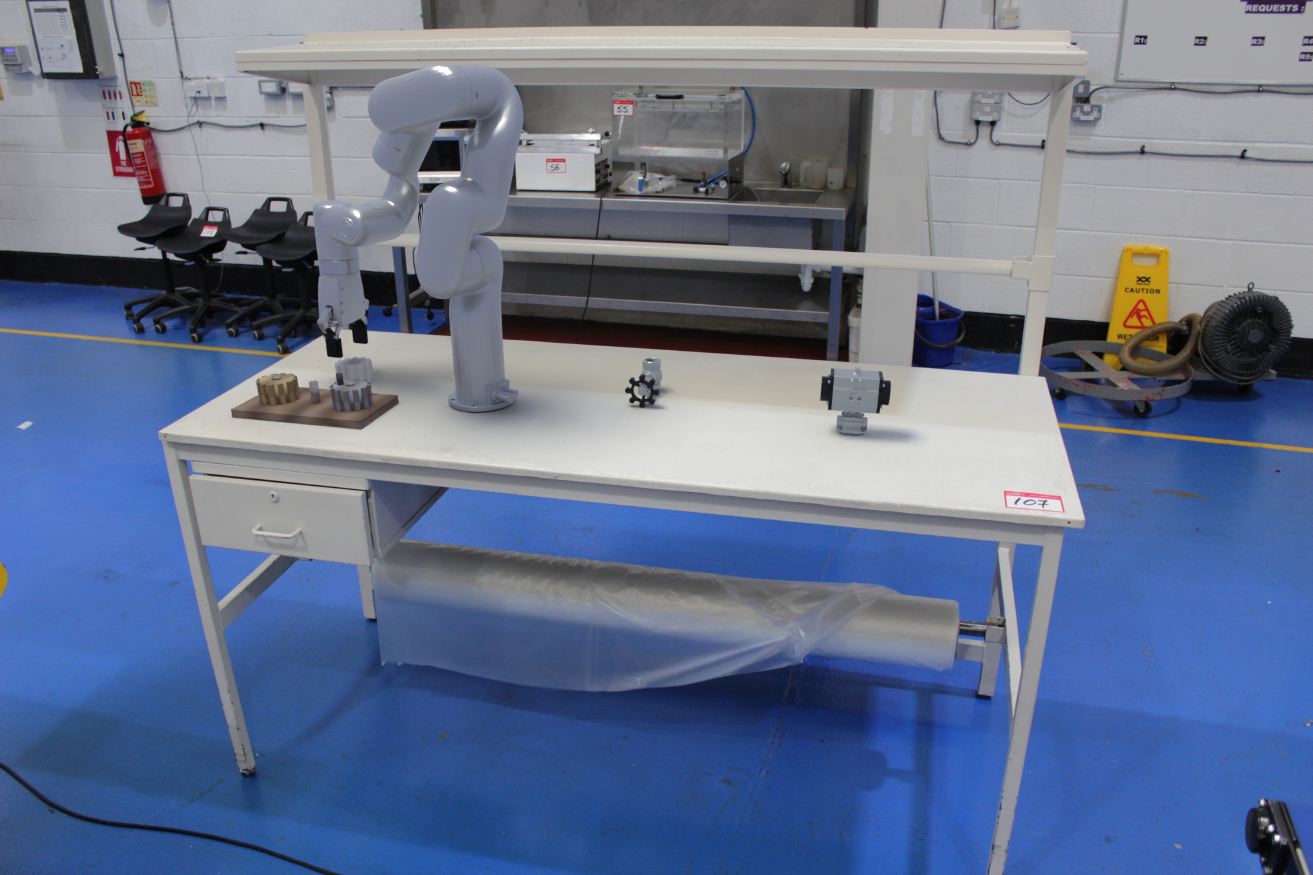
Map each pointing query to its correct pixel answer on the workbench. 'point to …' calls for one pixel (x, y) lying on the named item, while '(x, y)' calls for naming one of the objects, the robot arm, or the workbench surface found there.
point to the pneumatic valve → (854, 396)
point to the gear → (355, 368)
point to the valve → (647, 382)
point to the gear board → (315, 410)
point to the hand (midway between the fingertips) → (348, 350)
